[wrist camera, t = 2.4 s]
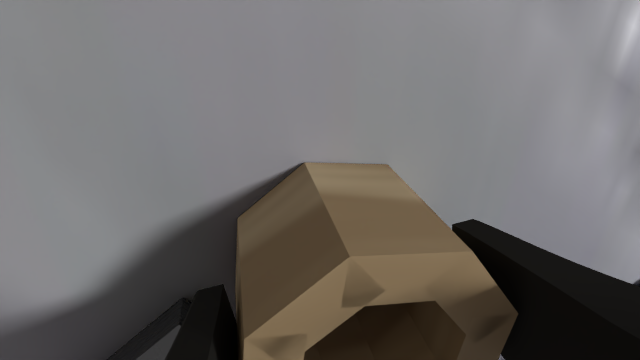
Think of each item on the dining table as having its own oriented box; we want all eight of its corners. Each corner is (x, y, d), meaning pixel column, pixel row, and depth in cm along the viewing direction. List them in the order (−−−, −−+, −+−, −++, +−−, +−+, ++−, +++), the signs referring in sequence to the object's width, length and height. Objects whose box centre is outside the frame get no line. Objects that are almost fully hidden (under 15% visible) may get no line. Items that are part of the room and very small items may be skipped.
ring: (451, 246, 12) (543, 347, 9) (317, 347, 13) (353, 481, 9) (354, 121, 9) (430, 193, 6) (192, 256, 10) (174, 393, 7)
